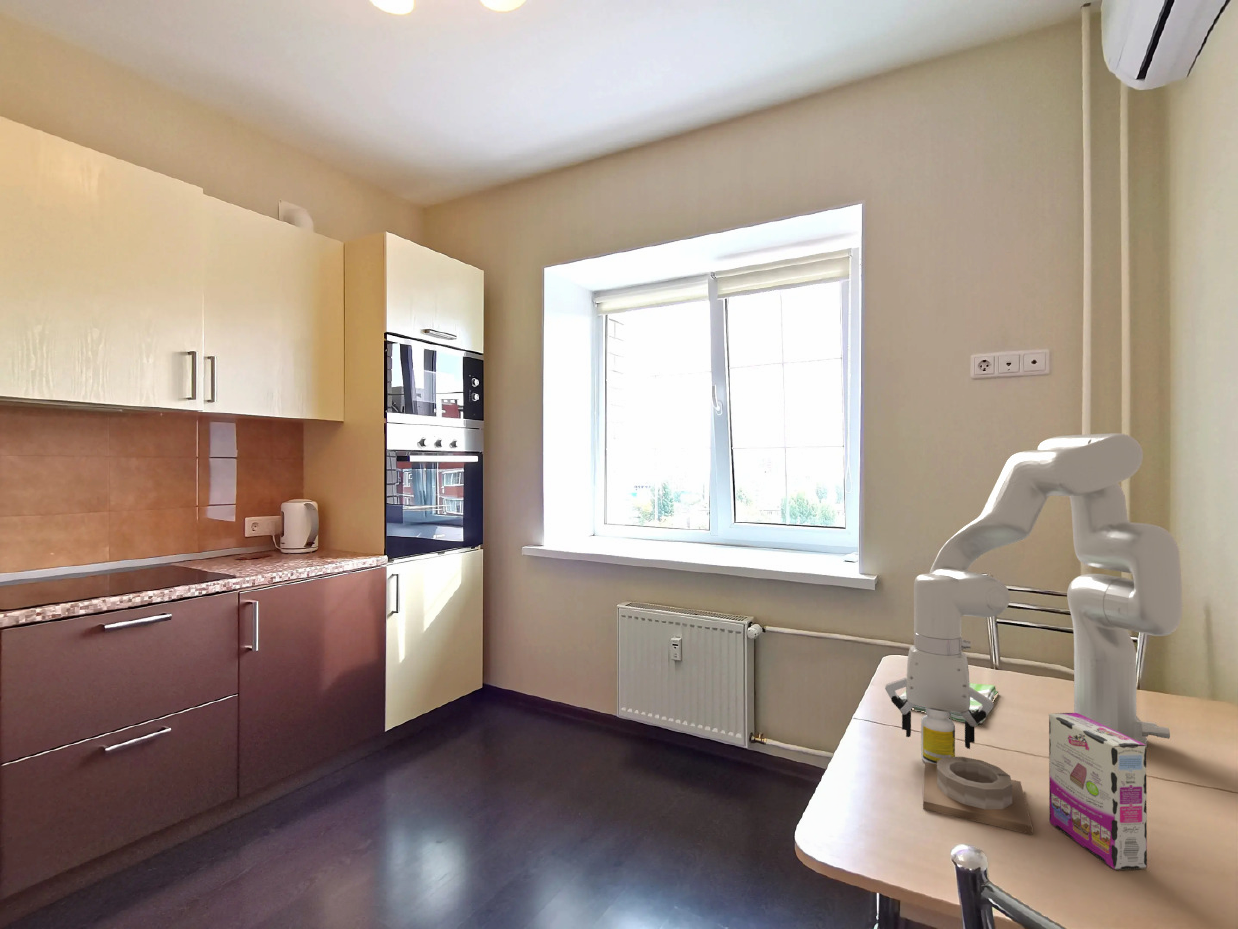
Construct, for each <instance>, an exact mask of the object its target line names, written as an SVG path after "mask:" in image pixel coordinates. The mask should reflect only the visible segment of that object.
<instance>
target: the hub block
mask: <svg viewBox="0 0 1238 929" xmlns="http://www.w3.org/2000/svg"><path fill="white" fill-rule="evenodd" d="M923 775H924V776H923V778H924V779H923V802H922V803H923V804H922V805H923V806H922V807H923V808H922V809H923V810H926V811H930V812H935V813H938V814H939V813H940V814H944V815H948V816H951V817H952V816H953V817H955V818H961V819H965V820H968V821H969V820H970V821H972V822H973V821H974V822H976V823H977V822H978V823H981V824H986V825H991V826H995V827H998V828H1003V829H1007V830H1011V831H1015V832H1019V833H1023V834H1024V833H1025V834H1027V835H1033V825H1032V821H1031V817H1030V813H1029V808H1028V804H1027V801H1026V798H1025V794H1024V790H1023V787H1022V781H1019V780H1015V779H1012V778H1011V775H1010V774H1008V773H1007V772H1006V771H1005V770H1003V769H1002V768H1001V767H999V766H997V765H994V764H991V763H989V762H987V761H984V760H981V759H977V758H976V759H975V758H972V757H967V756H955V757H945V758H943V759H941V760H939V761H937V764H933V763H928V762H924V774H923Z"/></svg>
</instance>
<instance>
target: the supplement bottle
mask: <svg viewBox="0 0 1238 929" xmlns="http://www.w3.org/2000/svg"><path fill="white" fill-rule="evenodd" d="M950 717H951V712H950V711H944V710H938V709H932V708H926V713H925V715H924V716H923V717H921V722H920V723H921V724H920V726H921V727H920V734H921V736H920V739H921V740H920V758H921V759H922V761H923V762H924V763H925V762H928V763H933V764H937V761H939V760H941V759H943V758H945V757H956V727H955V726H956V725H955V723H954V722H953V721H952V719H949V718H950Z"/></svg>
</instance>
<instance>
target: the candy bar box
mask: <svg viewBox="0 0 1238 929" xmlns="http://www.w3.org/2000/svg"><path fill="white" fill-rule="evenodd" d="M1048 723H1049V724H1048V727H1049V728H1048V730H1049V731H1048V735H1049V736H1048V737H1049V738H1048V739H1049V740H1048V749H1049V750H1048V751H1049V753H1048V755H1049V756H1048V757H1049V760H1048V765H1049V766H1048V767H1049V768H1048V769H1049V771H1048V773H1049V775H1048V776H1049V779H1048V780H1049V783H1048V784H1049V791H1048V792H1049V799H1048V800H1049V802H1048V804H1049V823H1050V824H1051V825H1052V826H1054V827H1055V828H1056V829H1058V830H1059V831H1061V832H1062V833H1063V834H1065V835H1066V836H1068V837H1069V838H1070V839H1072V840H1073V841H1074V842H1076V843H1077V844H1078V845H1079V846H1081V847H1083V848H1084V849H1085V850H1087V851H1088V852H1089V853H1091V854H1093V855H1094V856H1095V857H1097V858H1098V859H1099V860H1101V861H1102V862H1103V863H1104V864H1106V865H1107V866H1109V867H1110V868H1112V869H1113V870H1115V871H1117V870H1118V871H1120V870H1121V871H1122V870H1123V871H1124V870H1146V869H1147V868H1148V842H1147V841H1148V838H1147V833H1148V829H1147V828H1148V826H1147V824H1148V822H1147V818H1148V817H1147V816H1148V814H1147V812H1148V811H1147V808H1148V807H1147V799H1148V798H1147V797H1148V796H1147V793H1148V792H1147V788H1148V787H1147V784H1148V783H1147V746H1148V744H1147V745H1145V744H1143V743H1141V742H1139V741H1136V740H1134V739H1132V738H1130V737H1128V736H1126V735H1124V734H1122V733H1120V732H1117V731H1115V730H1113V729H1111V728H1109V727H1107V726H1104V725H1102V724H1100V723H1098V722H1096V721H1094V720H1092V719H1089V718H1087V717H1085V716H1083V715H1081V714H1079V713H1074V712H1059V713H1058V712H1057V713H1048Z"/></svg>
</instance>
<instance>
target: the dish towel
mask: <svg viewBox="0 0 1238 929" xmlns="http://www.w3.org/2000/svg"><path fill="white" fill-rule="evenodd" d="M970 687H971V688H973V689H974V690H976V691H977V692H979V693H980V694H982V695H984V696H985V697H987V698H988V699H990V700H991V701H993V699H994V696H995V695H996V694H997V693H998V694H999V691H998V690H997V689H996V685H994V684H986V683H985V684H981V683H972V682H970ZM898 696H899V697H900V698H901V699H902V700H903V702H904V701H905V700H906V699H907V697H906V690H904V692H903V693H902V694H901V695H898ZM981 706H982V704H981V703H979V702H977V701H976V700H974V699H973V698H971V697H970V708H969V709H970V710H971V712H972V713H974V712H975V711H977V710H978V709H980V708H981ZM913 708H914V710H916V711H915V712H917V711H924V712H926V707H921V706H916V705H915V706H914V707H913ZM987 717H988V715H987V716H986V718H987ZM986 718H985V719H983V720H982V721H980V722H979V723H977V725H976V726H975V727H977V726H979V725H980V724H983V722H985V720H986ZM952 719H953V721H955V720H957V721H956V722H959V723H965V721H966V720H965V718H964V717H963V716H962V715H961V713H956V712H951V717H950V720H952ZM978 724H979V725H978Z"/></svg>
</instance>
